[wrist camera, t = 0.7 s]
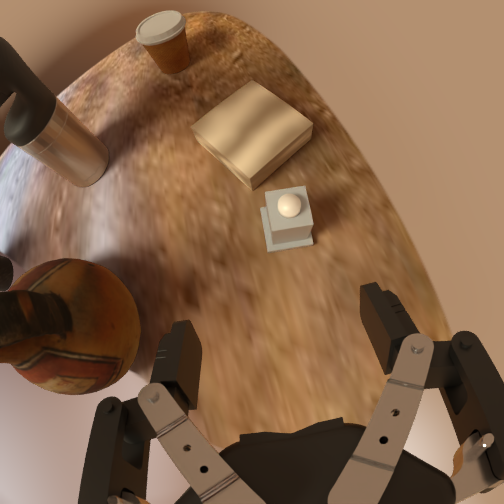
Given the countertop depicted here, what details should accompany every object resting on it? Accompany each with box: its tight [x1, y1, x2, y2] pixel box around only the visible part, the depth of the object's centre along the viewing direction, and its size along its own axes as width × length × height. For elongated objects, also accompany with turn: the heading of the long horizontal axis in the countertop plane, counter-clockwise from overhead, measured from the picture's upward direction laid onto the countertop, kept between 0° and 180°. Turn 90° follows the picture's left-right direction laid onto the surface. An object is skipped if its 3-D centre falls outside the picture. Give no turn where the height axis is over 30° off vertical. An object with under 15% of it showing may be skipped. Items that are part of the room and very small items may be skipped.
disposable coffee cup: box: [136, 11, 190, 74], centre depth 45 cm, size 10×10×12 cm
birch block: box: [191, 80, 314, 191], centre depth 44 cm, size 13×13×5 cm
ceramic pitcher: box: [0, 258, 141, 395], centre depth 28 cm, size 20×20×30 cm
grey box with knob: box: [260, 186, 314, 253], centre depth 38 cm, size 6×6×10 cm
